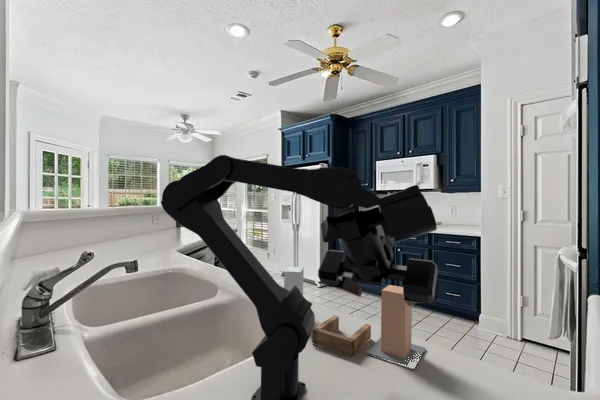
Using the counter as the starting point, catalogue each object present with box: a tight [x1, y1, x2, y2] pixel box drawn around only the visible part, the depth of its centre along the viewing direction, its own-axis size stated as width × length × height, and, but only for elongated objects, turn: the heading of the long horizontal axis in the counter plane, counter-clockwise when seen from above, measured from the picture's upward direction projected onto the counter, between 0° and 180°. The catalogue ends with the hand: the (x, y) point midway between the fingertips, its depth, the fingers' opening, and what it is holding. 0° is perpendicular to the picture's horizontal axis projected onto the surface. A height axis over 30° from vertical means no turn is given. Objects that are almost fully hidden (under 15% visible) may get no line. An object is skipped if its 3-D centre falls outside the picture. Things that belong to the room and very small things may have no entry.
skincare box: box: [283, 266, 305, 296], centre depth 77 cm, size 6×4×12 cm
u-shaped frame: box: [311, 314, 372, 358], centre depth 63 cm, size 10×9×3 cm
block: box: [380, 284, 413, 359], centre depth 59 cm, size 5×5×12 cm
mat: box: [365, 336, 427, 366], centre depth 59 cm, size 9×9×1 cm
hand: (384, 298), depth 54 cm, fingers open, 9 cm apart
